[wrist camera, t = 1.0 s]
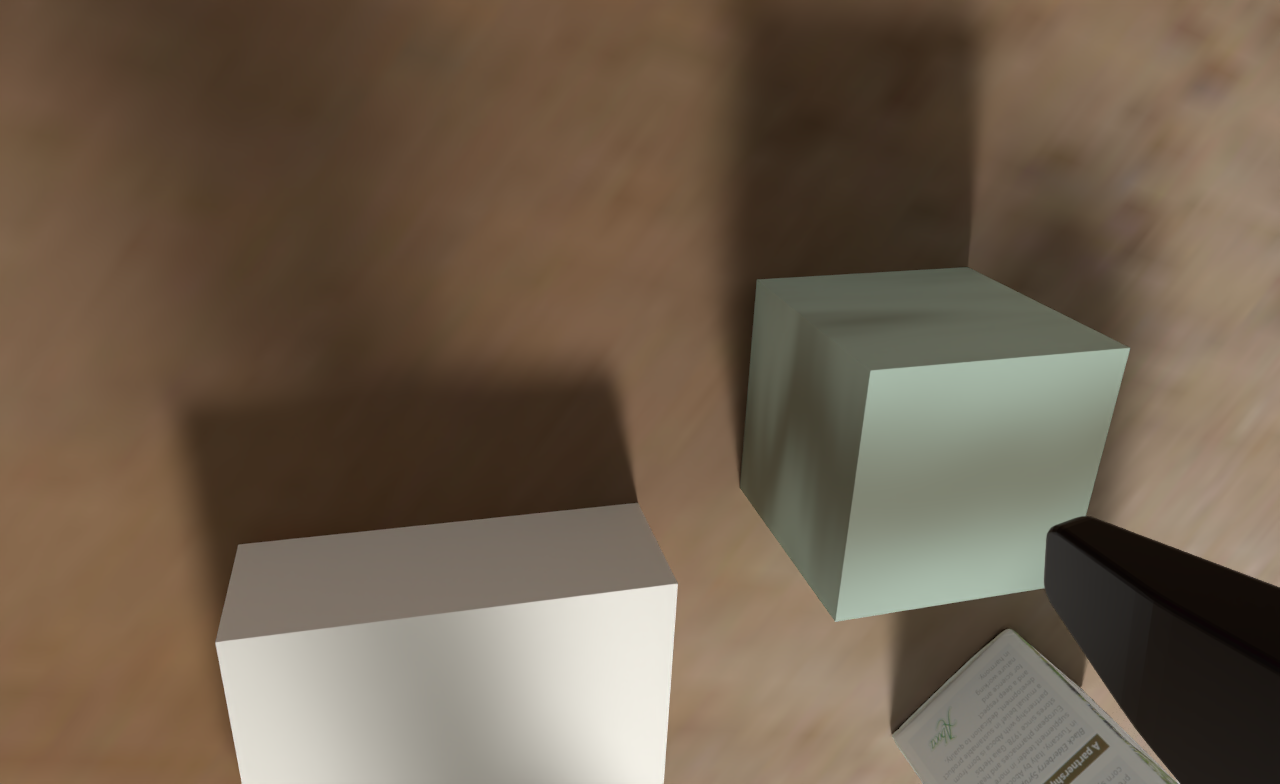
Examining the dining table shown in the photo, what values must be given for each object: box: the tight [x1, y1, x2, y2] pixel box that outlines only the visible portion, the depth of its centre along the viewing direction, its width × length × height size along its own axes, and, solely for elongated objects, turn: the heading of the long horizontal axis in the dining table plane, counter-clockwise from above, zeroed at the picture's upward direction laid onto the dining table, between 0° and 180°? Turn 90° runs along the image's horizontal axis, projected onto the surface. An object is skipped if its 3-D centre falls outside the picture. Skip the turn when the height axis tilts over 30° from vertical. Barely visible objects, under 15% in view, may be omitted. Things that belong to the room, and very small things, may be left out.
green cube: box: [740, 267, 1130, 622], centre depth 22 cm, size 6×6×6 cm
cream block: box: [215, 503, 678, 784], centre depth 24 cm, size 10×10×4 cm
